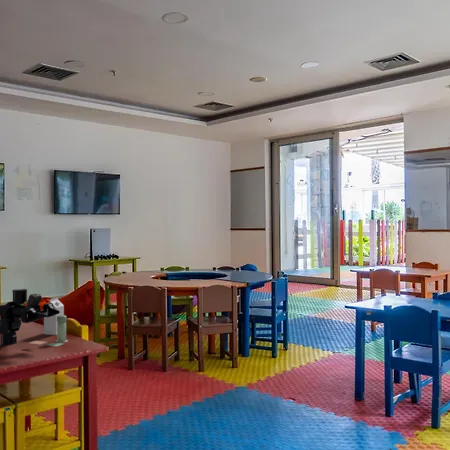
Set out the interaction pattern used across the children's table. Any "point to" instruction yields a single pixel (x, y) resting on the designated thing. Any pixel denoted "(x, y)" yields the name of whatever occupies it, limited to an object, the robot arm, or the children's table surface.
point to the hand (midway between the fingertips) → (52, 313)
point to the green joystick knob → (61, 328)
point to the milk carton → (53, 318)
